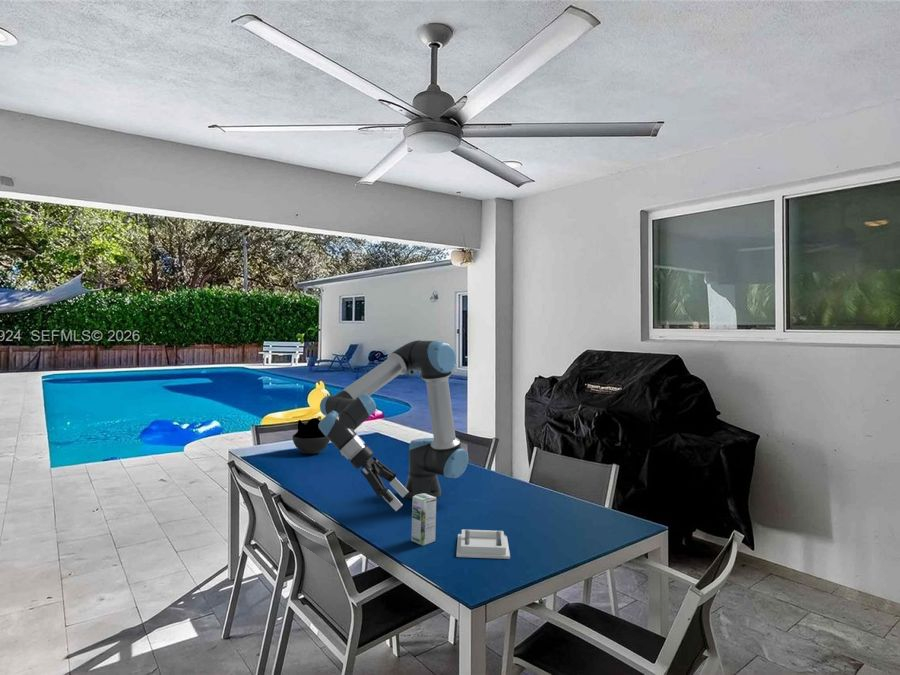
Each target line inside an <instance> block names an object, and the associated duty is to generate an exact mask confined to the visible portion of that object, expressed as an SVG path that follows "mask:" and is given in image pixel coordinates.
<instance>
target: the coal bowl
mask: <svg viewBox="0 0 900 675" xmlns="http://www.w3.org/2000/svg"><path fill="white" fill-rule="evenodd" d="M297 421H298V422H297V431H296V433H294V434H293V435H292V441H293V444H294V446H295V448H296V449H297V450H298V451H300V453H301V452H302V453H304V454H308V455H314V454H318V453H320V452H323V450H324V449H326V448H327V446H328V445H329V443H330V442H331V441H330V440H329V439H328V438H327V437H326V436H325V435H324V434H323V433H322V431H321V430H320V429H319V427H318V424H319V422H320V421H321V420H319V419H318V418H315V417H313V418H311V419H309V420H308V421H307V423H306V424H305V423H303V422H302V419H298V420H297Z"/></svg>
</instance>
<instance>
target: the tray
mask: <svg viewBox="0 0 900 675" xmlns="http://www.w3.org/2000/svg"><path fill="white" fill-rule="evenodd" d="M509 546H510V545H509V541H508V536H507V535H505V533H504V530H487V529H483V530H482V529H461V533H457V543H456V558H474V559H477V558H479V559H499V560H501V559H504V560H510V559H511V552H510V548H509Z"/></svg>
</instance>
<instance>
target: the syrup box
mask: <svg viewBox="0 0 900 675" xmlns="http://www.w3.org/2000/svg"><path fill="white" fill-rule="evenodd" d="M411 504H412V507H411V510H412V512H411V542H414V543H416V544H418V545H420V546H422V547H423V546H426V545H429V544H431V543H433V542H434V543H435V542H436V523H437V522H436V521H437V498H436V497H433V496H431V495H428V494H425V493H424V494H418V495H415V496H413V499H412V503H411Z"/></svg>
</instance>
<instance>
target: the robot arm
mask: <svg viewBox="0 0 900 675" xmlns="http://www.w3.org/2000/svg"><path fill="white" fill-rule="evenodd" d="M456 363H457V357H456V353H455V350H454V348H453V347H452V346H451V345H450V344H449V343H448V342H446V341H440V340H413V341H410V342H408V343H406V344H404V345H402V346H400V347H399V348H397V349H395V350H394V351H392V352H391V353H389V354H388V355H387V359H386V360H384V361H382V362H381V363H379V364H378V365H377V366H375V367H374V368H373V369H371V370H369V371H368V372H367V373H364V375H362V376H361V377H359V378H358V379H357V380H355V381H353V382H352V383H351V384H349V385H347V387H345V388H344V389H342V390H340V391H339V392H338V393H336V394H335V395H334V394H331V395H325V396H324V397H322V399H321V401H320V403H319V410H320V412H321V414H322V415H323V416H324V417H323V418H322V419H321V420H320V422H319V424H318V427H319V429H320V430H321V431H322V433H323V434H324V435H325V436H326V437H327V438H328V439H329V440H330V441H329V442H331V443H332V445H334V447H335V448H337V450H338V451H339V452H340V454H341V456H344V457H345V458H346V459H347V460H349V463H350V464H351V466H352V467H354V469H356V470H359V469H360V468H362V469H361V470H360V473H361V474H362V476H364V477H365V479H366V481H367V482H368V483H369V485H370V486H371V488H372V490H373V491H374V493H375V494H376V496H377V497H378V498H381V497H382V498H383V499H384V501H386V502H387V504H389V506H390V507H391V508H392V509H393V510H394V511H395V512H398V510H399V509H401V508H402V507H403V503H402V502H401V501H400V500H399V499H398V498H397V496H395V494H394V493H393V492H392V491H391V490H390V489H387V487H386V485H385V483H384V482H383V480H382V479H384V480H385V481H387V482H388V484H389V485H390V486H391V487H392V488H393V489H394V490H395V492H396V493H397V494H399V496H400V497H401V498H405V497H406V498H408V499H410V500H413V496H415V495H418V494H424V493H425V494H428V495H431V496H433V497H436V499H438V498H440V497H441V496H442V490H441V486H440V485H441V484H440V481H439V478H438V475H440V476H444V477H445V478H451V479H457V478H459V477H460V476H462V475H463V474H464V472H465V471H466V469H467V467H468V463H469V454H468V451H466V450H465V449H464V448H462V447H461V440H460V439H459V438H458V437H456V430H455V422H454V415H453V407H452V406H453V405H452V398H451V393H450V391H451V390H450V384H449V378H450V377H451V375H452V371H453V370H454V368H455V367H456V366H455V364H456ZM411 371H420V376H421V379H422V380H423V381H425V383H426V385H425V386H426V391H427V398H428V399H427V400H428V406H429V413H430V414H429V415H430V420H431V427H432V428H431V430H432V436H433V437H424V438H417V439H413V440H411V441H410V442H409V448H408V477H407V481H406V482H405V485H403V484H402V483H401V482H400V481H399V480H398V479H397V476H398V475H397V473H396V472H394V471H393V470H391V469H390V468H389V467H387V465H385V464H384V463H382V462H381V461H380V460H379V459H378V458H377V457H376V456H373V455H374V451H373V450H372V448H370V446H369V445H366V442H365V441H364V440H363V439H362V438H361V437H360V435H359V434H357V433H356V432H355V430H356V429H357V428H359V427H360V426H361V425H362V424H363V423H364V422H366V421H367V420H368V419H369V418H370V417H371V416H372V414H374V413H375V411H376V410H377V405H376V402H375V400H374V398H372V397H371V396H372V395H373V394H374V393H376V392H378V391H379V390H381V388H383V387H384V386H385V385H387V384H389V382H391V381H393V380H394V379H395V378H397V377H398V376H404V375H406V374H407V373H408V372H411ZM372 456H373V457H372Z"/></svg>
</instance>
